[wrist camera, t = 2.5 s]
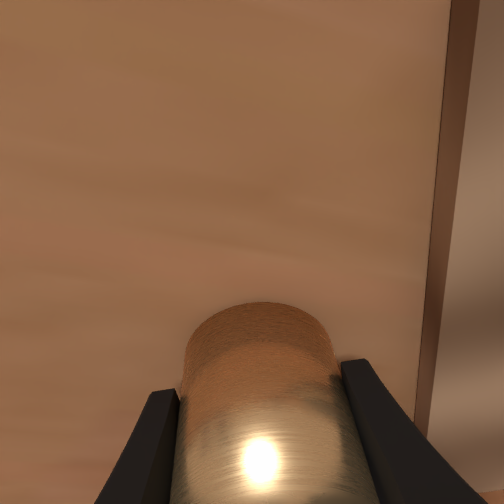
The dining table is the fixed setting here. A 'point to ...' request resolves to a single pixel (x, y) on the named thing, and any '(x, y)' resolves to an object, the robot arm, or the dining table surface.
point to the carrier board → (468, 257)
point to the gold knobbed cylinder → (266, 414)
